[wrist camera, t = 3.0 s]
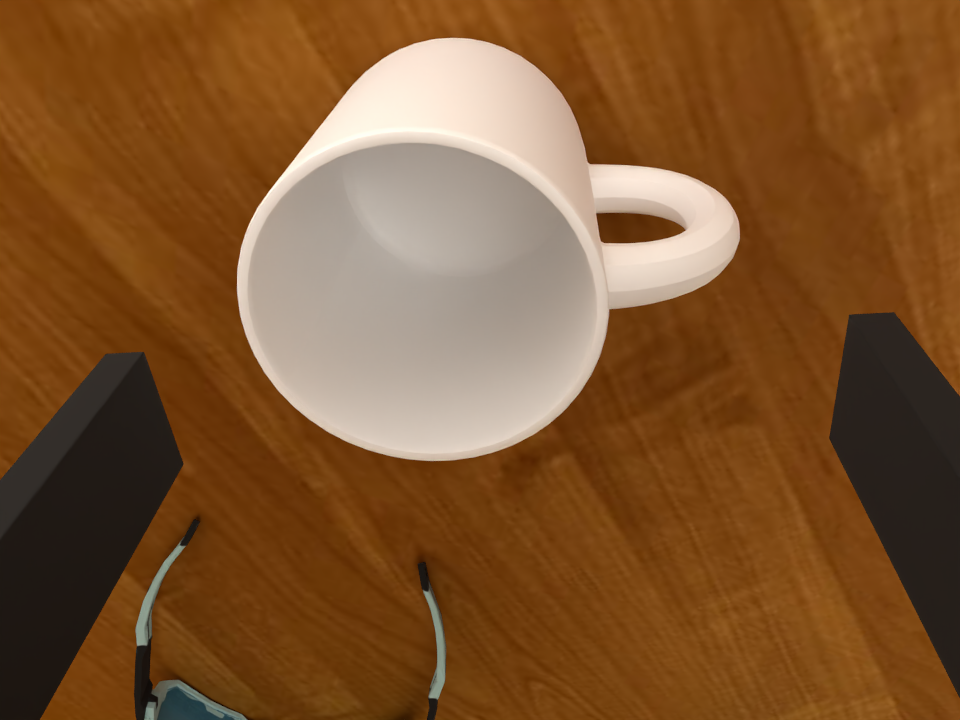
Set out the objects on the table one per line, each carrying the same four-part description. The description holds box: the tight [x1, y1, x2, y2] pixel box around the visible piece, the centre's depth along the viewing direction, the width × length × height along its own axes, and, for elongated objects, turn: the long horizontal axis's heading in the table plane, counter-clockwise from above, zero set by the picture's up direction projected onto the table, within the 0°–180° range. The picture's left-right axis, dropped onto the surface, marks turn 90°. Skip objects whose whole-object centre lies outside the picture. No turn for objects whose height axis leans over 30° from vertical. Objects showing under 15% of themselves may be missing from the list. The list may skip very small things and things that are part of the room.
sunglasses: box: [134, 519, 446, 720], centre depth 39 cm, size 14×15×5 cm
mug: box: [237, 38, 740, 461], centre depth 23 cm, size 12×8×10 cm
